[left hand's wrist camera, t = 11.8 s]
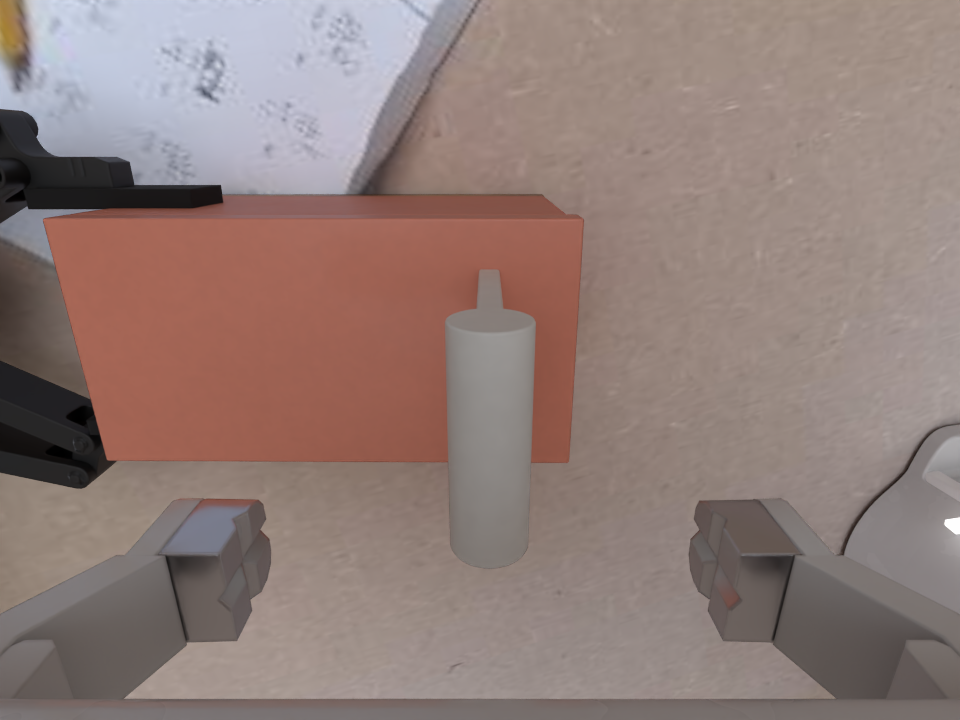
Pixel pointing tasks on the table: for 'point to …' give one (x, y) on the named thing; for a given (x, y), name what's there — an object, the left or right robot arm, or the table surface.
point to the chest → (359, 205)
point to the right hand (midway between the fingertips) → (226, 313)
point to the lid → (335, 345)
